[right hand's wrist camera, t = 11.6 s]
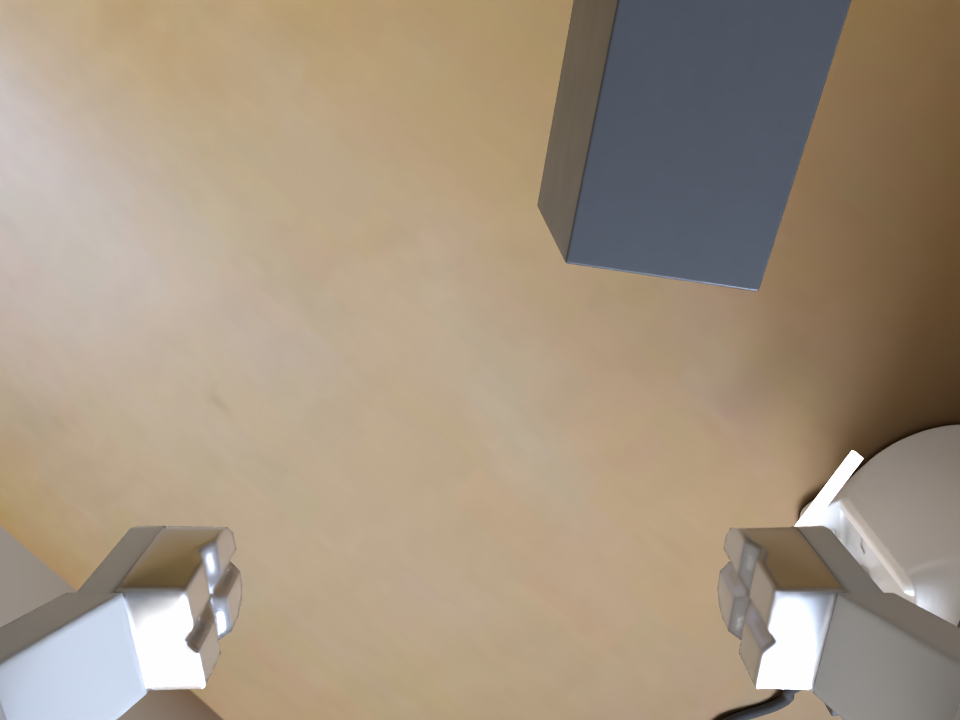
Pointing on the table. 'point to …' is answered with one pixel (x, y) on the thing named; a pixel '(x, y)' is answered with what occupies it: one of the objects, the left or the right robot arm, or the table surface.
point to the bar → (683, 132)
